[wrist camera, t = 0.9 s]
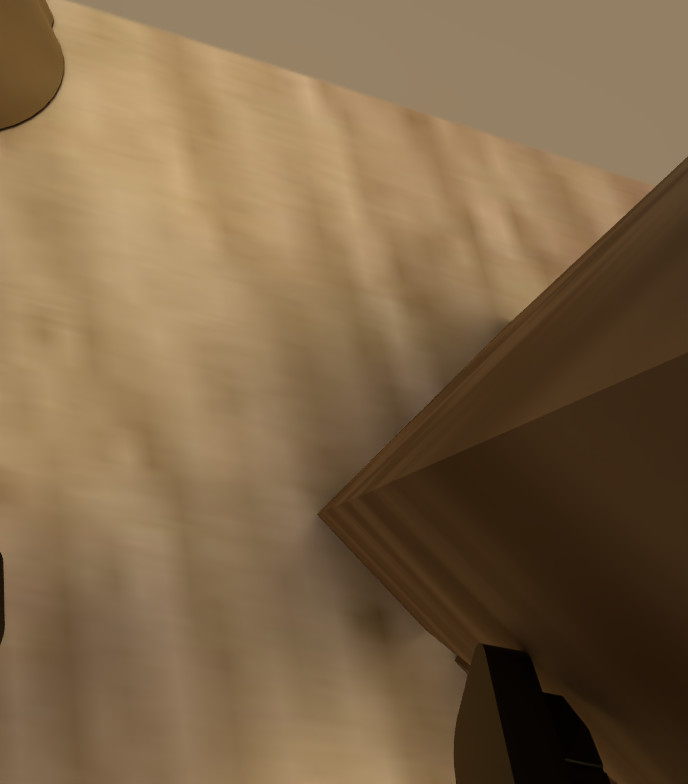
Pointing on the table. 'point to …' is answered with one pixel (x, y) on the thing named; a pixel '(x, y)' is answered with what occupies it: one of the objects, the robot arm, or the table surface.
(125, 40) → the table surface
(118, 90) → the table surface
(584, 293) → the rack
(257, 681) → the table surface
